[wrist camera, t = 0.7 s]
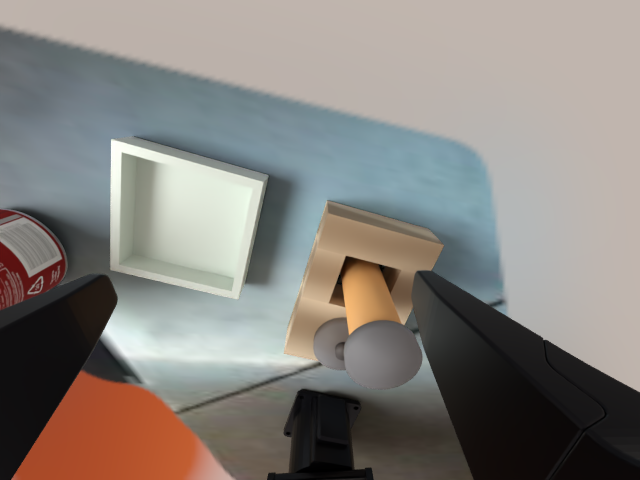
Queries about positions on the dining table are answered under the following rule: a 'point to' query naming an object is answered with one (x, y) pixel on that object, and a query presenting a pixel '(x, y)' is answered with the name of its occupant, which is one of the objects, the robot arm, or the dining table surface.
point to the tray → (182, 217)
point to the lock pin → (375, 330)
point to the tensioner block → (325, 265)
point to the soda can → (27, 258)
